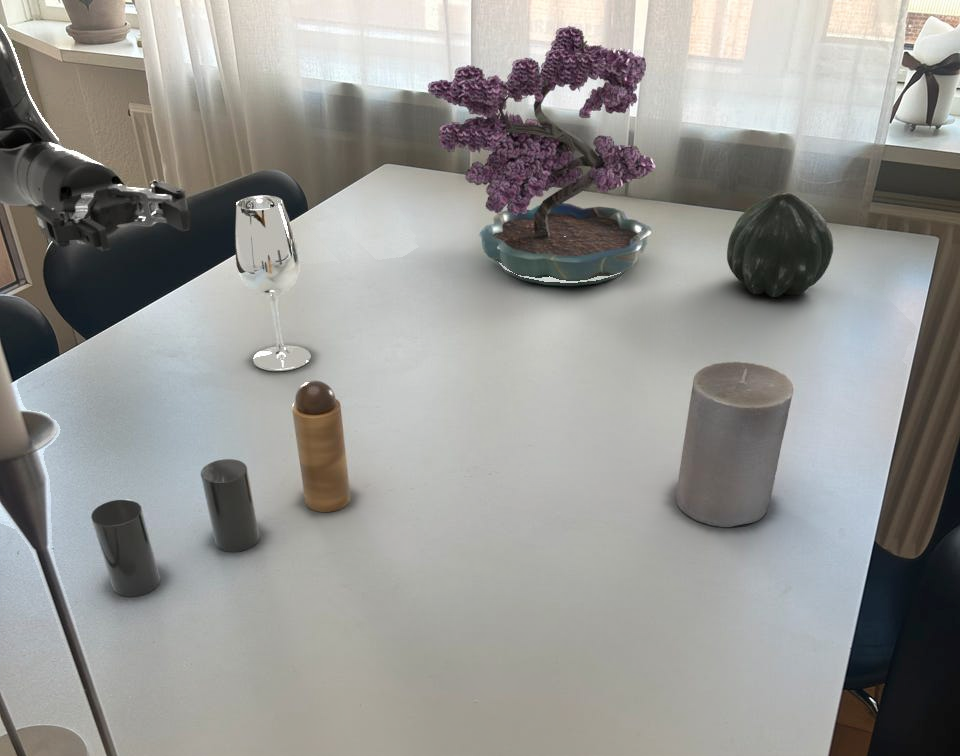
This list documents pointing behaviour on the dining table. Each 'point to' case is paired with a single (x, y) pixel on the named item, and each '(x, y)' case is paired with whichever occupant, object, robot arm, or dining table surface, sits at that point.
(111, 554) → the dark grey upright cylinder
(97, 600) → the dining table surface
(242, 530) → the grey upright cylinder
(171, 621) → the dining table surface
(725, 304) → the dining table surface
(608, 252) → the bonsai tree
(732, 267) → the squash
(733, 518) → the pillar candle
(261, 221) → the wineglass
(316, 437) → the pepper mill
